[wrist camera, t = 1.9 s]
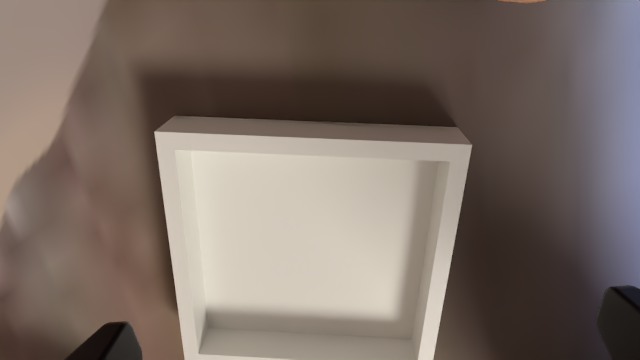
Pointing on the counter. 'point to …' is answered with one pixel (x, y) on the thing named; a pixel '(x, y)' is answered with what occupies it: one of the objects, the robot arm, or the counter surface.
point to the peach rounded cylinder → (523, 1)
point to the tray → (310, 235)
